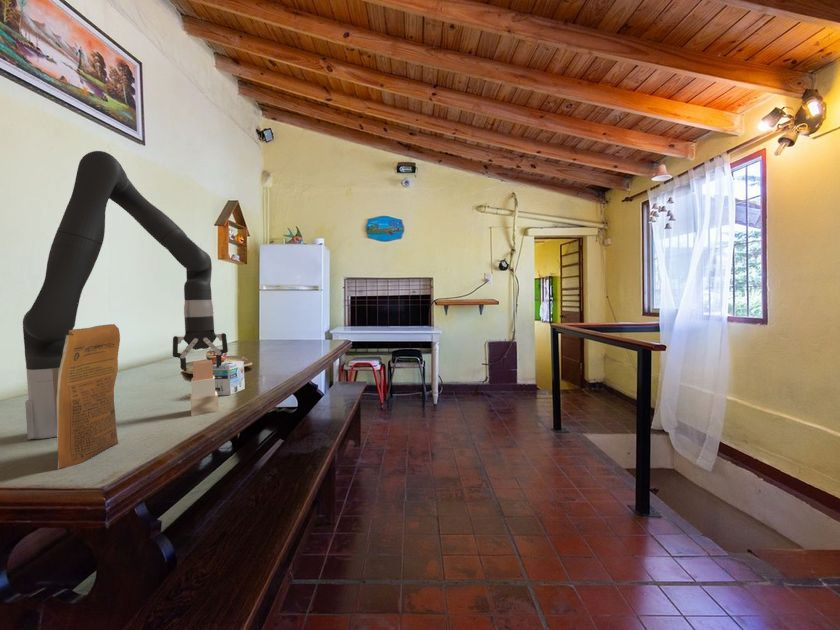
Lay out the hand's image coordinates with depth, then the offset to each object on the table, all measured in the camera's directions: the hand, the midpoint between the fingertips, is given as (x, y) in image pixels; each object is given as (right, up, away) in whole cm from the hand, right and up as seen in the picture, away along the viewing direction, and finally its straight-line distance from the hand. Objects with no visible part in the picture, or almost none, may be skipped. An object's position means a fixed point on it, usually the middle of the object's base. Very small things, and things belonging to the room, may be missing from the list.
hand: (201, 369), depth 113 cm
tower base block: (+1, -13, 0) cm, 13 cm away
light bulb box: (-4, -12, +25) cm, 28 cm away
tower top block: (0, -8, 0) cm, 8 cm away
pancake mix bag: (-6, -14, -30) cm, 34 cm away
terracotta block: (0, -3, 0) cm, 3 cm away
